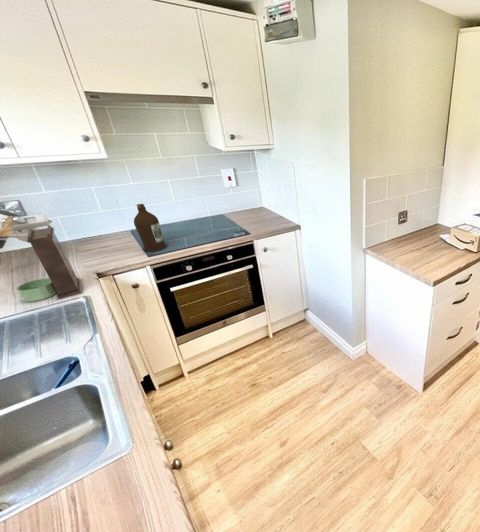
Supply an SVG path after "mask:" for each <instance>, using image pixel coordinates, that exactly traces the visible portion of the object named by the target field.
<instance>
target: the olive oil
mask: <svg viewBox="0 0 480 532" xmlns="http://www.w3.org/2000/svg"><path fill="white" fill-rule="evenodd" d="M136 208H137V211H138V212H137V214H136V215H135V217H134V219H133V225H134V228H135V230H136V231H137V234H138V236H139V238H140V240H141V243H142V245H143V248H144V250H145V251H146V252H156V251H161V250H163V249H164V248H166V247H167V246H166V242H165V237H164V236H163V235H164V234H163V232H162V229H161V224H160V220H159V218H158V217H157V216H156V215H155V214H153V213H151V212H150V211H148V210H147V208H146V206H145V204H144V203H138V204H136Z"/></svg>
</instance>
